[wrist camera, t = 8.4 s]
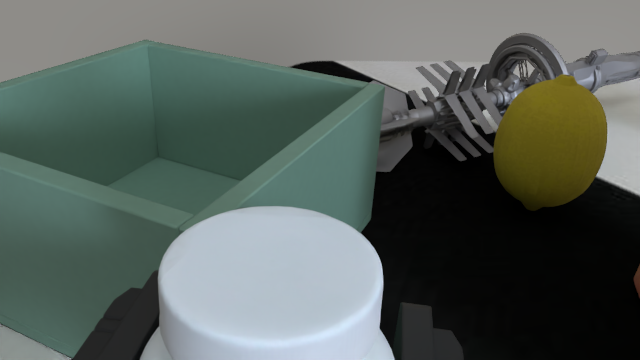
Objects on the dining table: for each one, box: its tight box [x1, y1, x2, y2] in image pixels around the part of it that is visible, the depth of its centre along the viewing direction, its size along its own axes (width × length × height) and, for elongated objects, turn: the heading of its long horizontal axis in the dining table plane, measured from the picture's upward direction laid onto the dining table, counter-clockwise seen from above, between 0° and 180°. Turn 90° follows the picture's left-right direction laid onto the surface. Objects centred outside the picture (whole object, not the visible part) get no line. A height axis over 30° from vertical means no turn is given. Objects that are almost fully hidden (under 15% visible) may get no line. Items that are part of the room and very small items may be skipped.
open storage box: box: [0, 40, 385, 358], centre depth 25 cm, size 15×15×8 cm
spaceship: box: [369, 33, 640, 172], centre depth 38 cm, size 8×35×8 cm
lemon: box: [493, 74, 607, 211], centre depth 30 cm, size 6×6×8 cm
